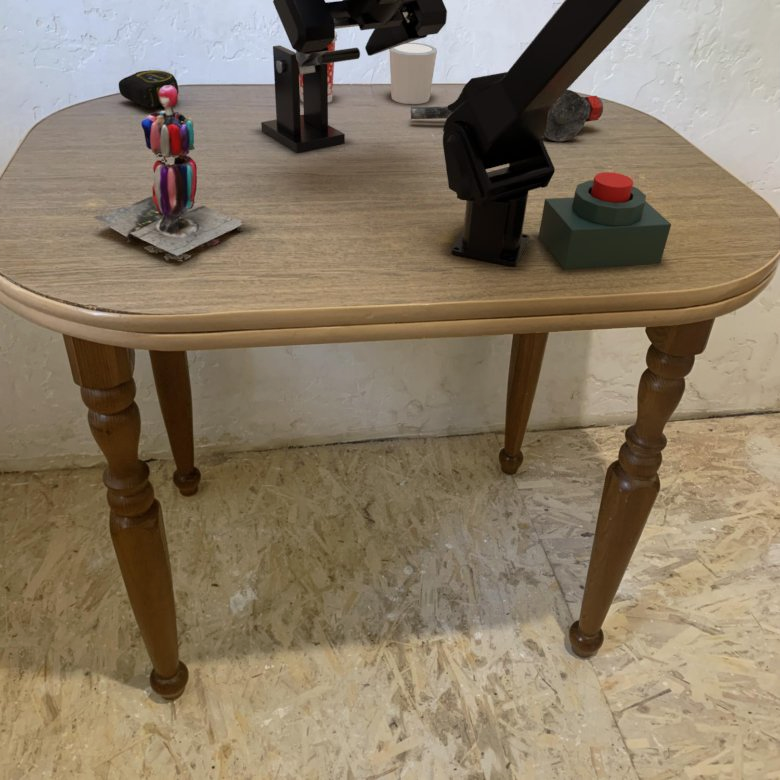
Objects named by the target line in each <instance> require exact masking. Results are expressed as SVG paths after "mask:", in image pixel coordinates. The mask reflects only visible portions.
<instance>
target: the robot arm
mask: <svg viewBox="0 0 780 780" xmlns="http://www.w3.org/2000/svg"><path fill="white" fill-rule="evenodd" d="M650 1H651V0H564V1H563V2H562V3H561V4H560V5H559V7H558V8H557V9H556V10H555V12H554V13H553V15H552V16H551V17H550V18H549V19H548V20H547V22H546V23H545V24H544V26H543V27H542V28H541V29H540V31H539V32H538V33H537V34H536V36H535V37H534V38H533V40H531V41H530V43H529V44H528V46H527V47H526V48H525V50H524V51H523V52H522V53H521V54H520V55H519V57H518V58H517V59H516V61H515V62H514V63H513V64H512V66H511V67H510V68H509V70H508V71H504V72H498V73H493V74H488V75H487V74H486V75H483V76H477V77H471V78H470V80H469V81H467V83H466V84H465V85H464V86H463V88H462V90H461V92H460V94H459V96H458V97H457V99H456V100H455V101H454V102H453V103H450V104H448V105H447V106H448V107H447V108H448V110H450V111H451V113H450V114H449V115H448V117H447V118H445V121H444V124H443V128H442V131H443V133H442V148H443V155H444V162H445V169H446V176H447V183H448V189H449V190H451V191H453V193H456V198H457V199H458V200H460V201H466V202H465V210H464V219H463V230H462V232H461V233H460V234H459V236H458V238H457V239H456V241H455V242H454V243H453V245H452V246H451V248H450V253H451V254H452V255H455V256H460V257H464V258H468V259H472V260H473V259H474V260H477V261H478V260H479V261H484V262H488V263H493V264H499V265H503V266H508V267H516V266H517V265H518V263H519V261H520V259H521V257H522V256H523V254H524V251H525V249H526V247H527V246H528V243H529V241H530V235H529V234H526V233H523V232H524V231H523V229H524V224H525V217H526V212H527V204H528V198H529V193H530V192H529V191H533V190H536V189H543V188H547V187H548V185H549V184H550V182H551V180H552V178H553V176H554V175H555V172H556V169H555V166H554V164H553V161H552V159H551V157H550V154H549V152H548V150H547V147H546V145H545V143H544V141H543V138H542V137H543V136H544V133H545V131H546V129H547V123H548V116H549V110H550V108H551V106H552V105H553V104H554V103H555V102H556V101H557V100H558V99H559V98H560V96H561V95H562V94H563V93H564V92H565V91H566V90H569V88H570V87H571V86H572V85H573V84H574V83H575V82H576V81H577V80H578V78H579V77H580V76H581V75H582V74H583V73H584V72H585V71H586V70H587V69H588V68H589V67H590V65H591V64H593V62H594V61H595V60H596V59H597V58H598V57H599V56H600V55H601V54H602V53H603V52H604V50H605V49H607V47H608V46H609V45H610V44H611V43H613V41H614V40H615V39H616V38H617V37H618V36H619V34H621V32H622V31H623V30H624V29H625V28H626V27H627V26H628V25H629V23H631V22H632V20H633V19H634V18H635V17H637V15H638V14H639V13H640V12H641V11H642V10H643V9H644V8H645V7H646V5H648V3H649V2H650ZM272 3H273V5H274V8H275V11H276V12H277V15H278V17H279V20H280V22H281V25H282V27H283V30H284V31H285V34H286V37H287V38H288V41H289V43H290V46H291V48H292V49H293V50H294V51H295V53H296V59H297V61H298V64H299V66H303V65H305V64H307V63H309V62H311V61H312V60H314V59H315V58H317V57H319V56H320V55H322V54H324V53H325V52H327V51H328V47H327V46H329V45H330V44H331V43H332V42H333V40H334V38H335V31H336V30H337V29H345V28H353V27H358V28H359V30H360V31H367V30H368V31H369V30H373V31H372V33H371V34H370V36H369V38H368V39H367V42H366V44H365V47H364V49H365V51H366V52H365V53H366V54H367V56H368V57H370V56H374V55H377V54H379V53H382V52H386V51H388V50H389V49H391V48H393V47H397V46H400V45H403V44H406V43H413V42H414V41H418V40H421V39H425V38H427V37H428V36H431V35H438V34H439V32H440V31H441V30H442V29H443V28H444V27H445V25H446V23H447V20H448V19H447V18H448V10H447V7H446V4H445V3H444V0H337V1H328V2H327V1H326V0H272ZM505 165H508V166H506V167H503V168H498V169H495V170H491V171H487V170H490V169H494V168H497V167H501V166H505Z"/></svg>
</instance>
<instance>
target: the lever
mask: <svg viewBox="0 0 780 780" xmlns="http://www.w3.org/2000/svg"><path fill="white" fill-rule="evenodd" d="M360 57H361V52H360V49H359V47H350V48H343V49H335V51H328V52H325V53H324V54H322V55H320V56H319V57H317V58H315V59H314V60H312V61H311V62H309V63H307V64H305V65H303V66H299V75H301V74H307V73H313V72H316V71H315V65H321V64H327V63H334V64H335V63H339V62H346V61H352V60H354V61H355V60H359V59H360Z"/></svg>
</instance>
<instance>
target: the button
mask: <svg viewBox="0 0 780 780" xmlns="http://www.w3.org/2000/svg"><path fill="white" fill-rule="evenodd" d="M593 180H594V181H593ZM593 180H592V181H593V186H592V191H591V196H592V197H594V198H596V199H599V200H601V201H606V202H613V203H621V202H628V201H629V199H630V195H631V190H632V186H633V187H634V180H633V179H632V178H631V177H629V176H628V175H626V174H622V173H617V172H611V171H607V172H605V171H604V172H599V173H597V174H595V175H594V177H593Z"/></svg>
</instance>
